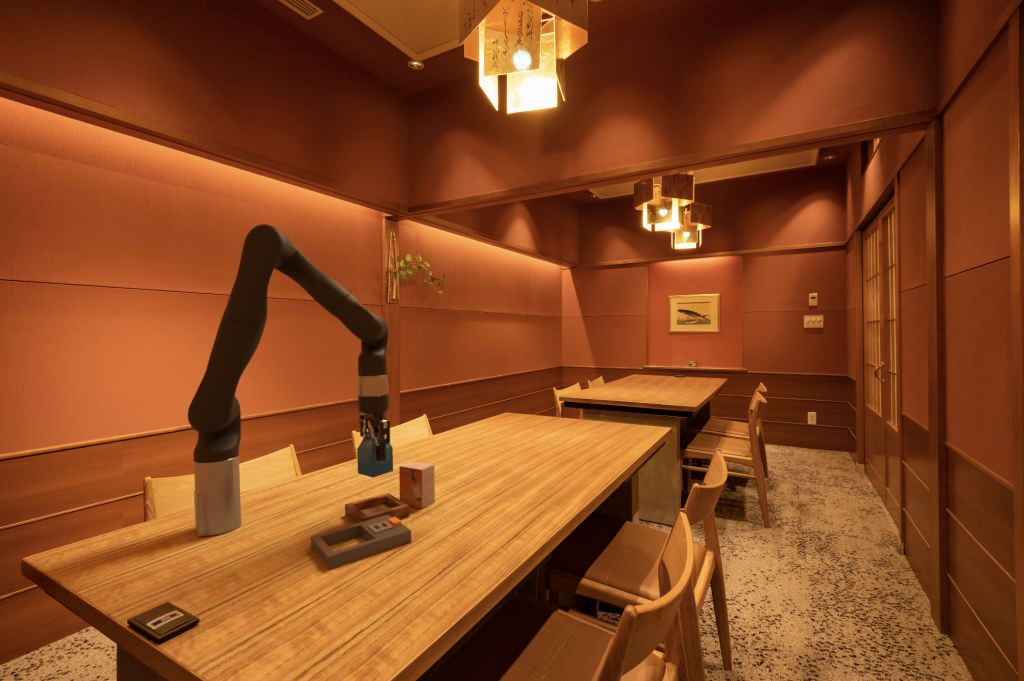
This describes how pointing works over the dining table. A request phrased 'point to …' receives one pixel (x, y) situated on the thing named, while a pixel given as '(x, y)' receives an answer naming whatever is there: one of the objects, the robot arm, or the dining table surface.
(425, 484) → the small box
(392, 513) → the walnut tray
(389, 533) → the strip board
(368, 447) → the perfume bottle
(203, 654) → the dining table surface
